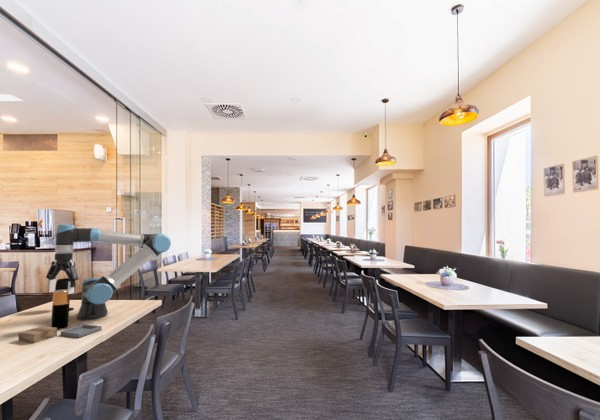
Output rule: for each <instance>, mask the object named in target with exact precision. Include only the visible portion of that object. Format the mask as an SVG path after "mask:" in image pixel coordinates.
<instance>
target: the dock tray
mask: <svg viewBox="0 0 600 420" xmlns="http://www.w3.org/2000/svg"><path fill="white" fill-rule="evenodd" d="M102 327H103V326H102V325H95V324H87V323H84V324H83V323H82V324H80V325H77V326H74V327H70V328H68V329H67V328H66V329H65V330H61V331H60V334H59V335H60V336H61V337H68V338H76V339H80V338H83V337H86V336H89V335H92V334H94V333H95V334H96V333H97V332H100V331H102Z"/></svg>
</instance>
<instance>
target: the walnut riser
mask: <svg viewBox="0 0 600 420" xmlns="http://www.w3.org/2000/svg"><path fill="white" fill-rule="evenodd" d="M57 336H58V330H57V328H55V327H51V326H46V325H41V326H40V325H39V326H38V327H33V328H30V329H27V330H23V331H19V332H18V340H17V341H18V342H21V343H26V344H36V343H40V342H43V341H46V340H49V339H53V338H55V337H57Z"/></svg>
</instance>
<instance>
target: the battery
mask: <svg viewBox="0 0 600 420" xmlns="http://www.w3.org/2000/svg"><path fill="white" fill-rule="evenodd" d="M70 297H71V295H70V294H68V289H65V290H56V291H53V292H52V302H51V303H52V308H51V320H50V321H51V322H50V327H55V328H57V331H58V330H62V329H67V328H68V327H69V318H70V317H69V316H70V311H69V308H70V300H71V298H70Z"/></svg>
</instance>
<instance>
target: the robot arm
mask: <svg viewBox="0 0 600 420" xmlns="http://www.w3.org/2000/svg"><path fill="white" fill-rule="evenodd" d="M74 242H86V243H87V242H92V243H104V244H110V245H111V244H112V245H123V246H132V247H137V248H138V249H139V250H138V251H137V252H136V253H134V254H132V255H131V256H130V257H129V258H127V260H125V261H124V262H123V263H121V264H120V265H119V266H118V267H117V268H115V269H114V270H113V271H112V272H110V273H109V274H108V275H102V276H101V277H93V278H84V279H83V280H82V282H81V283H82V286H81V287H82V288H81V302H80V303H81V304H80V307H79V310H78V313H77V314H76V319H77V320H79V321H89V320H97V319H101V318H105V317H107V316H108V311H109V310H108V309H107V304H106V303H107V302H108V301H110V300H111V298H112V296H113V294H114V293H116V292H117V291H118V290H119V286H120V285H121V284H122V283H124V282H125V281H126V280H127V279H129V278H130V277H131V276H132V275H133V274H134V273H135V272H137V271H138V270H139V269H141V268H142V266H144V265H145V264H146V263H147V262H149V261H150V260H151V259H153V258H157V257H159V256H160V255H161V254H162V253H165V252H167V251H168V250H169V249H170V248H171V246H172V242H171V238H170V237H169V236H168V235H166V234H164V233H149V234H148V233H141V234H134V233H127V232H119V231H118V232H117V231H109V230H103V229H100V228H94V227H93V228H90V227H88V228H87V227H83V228H78V227H75V225H74V224H64V223H63V224H58V225H57V227H56V234H55V249H54V250H55V251H54V252H55V254H54V261H51V264H50V267H49V270H48V272H47V273H46V276H45V279H47V280H48V293H53V291H55V285H56V282H57V280H56V277H57V276H58V274H60V272H61V271H63V272H64V273H65V274H66V276H67V278H69V281H68V294H71V293H72V294H75V290H74V287H75V283H76V281H77V280H80V277H79V274H78V271H77V268H76V262H75V261H72V260H73V256H74V255H73V252H74ZM75 288H76V287H75Z"/></svg>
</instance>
